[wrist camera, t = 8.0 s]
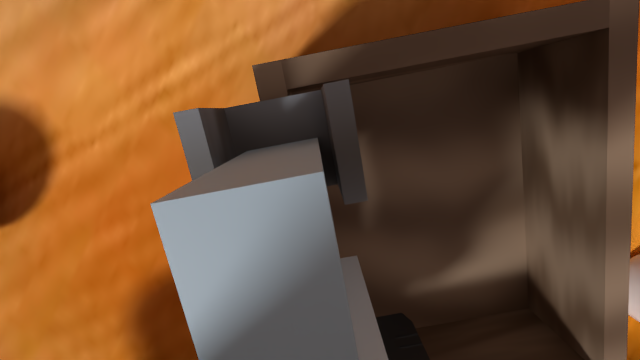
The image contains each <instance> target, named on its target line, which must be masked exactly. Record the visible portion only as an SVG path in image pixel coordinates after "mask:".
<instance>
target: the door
mask: <svg viewBox="0 0 640 360" xmlns="http://www.w3.org/2000/svg"><path fill="white" fill-rule="evenodd" d="M151 207H152V211H153V214H154V217H155V220H156V223H157V227H158V230H159V233H160V236H161V240H162V243H163V246H164V249H165V252H166V256H167V259H168V262H169V265H170V269H171V272H172V275H173V278H174V282H175V285H176V288H177V291H178V294H179V298H180V301H181V304H182V307H183V311H184V314H185V317H186V320H187V323H188V327H189V330H190V333H191V336H192V340H193V343H194V346H195V349H196V353H197V356H198V359H199V360H359V358H358V352H357V347H356V342H355V336H354V331H353V325H352V320H351V314H350V309H349V304H348V298H347V293H346V287H345V282H344V276H343V271H342V265H341V260H340V255H339V249H338V244H337V239H336V233H335V228H334V223H333V217H332V212H331V207H330V201H329V196H328V191H327V185H326V180H325V175H324V169H323V164H322V159H321V153H320V148H319V143H318V138H312V139H307V140H302V141H297V142H291V143H286V144H281V145H276V146H270V147H265V148H260V149H254V150H249V151H246V152H244V153H242V154H241V155H239V156H237V157H235V158H233V159H231V160H230V161H228V162H226V163H224V164H222V165H221V166H219V167H217V168H215V169H213V170H211V171H210V172H208V173H206V174H204V175H202V176H200V177H199V178H197V179H195V180H193V181H191V182H189V183H188V184H186V185H184V186H182V187H180V188H179V189H177V190H175V191H173V192H171V193H169V194H168V195H166V196H164V197H162V198H160V199H158V200H157V201H155V202H153V203H151Z"/></svg>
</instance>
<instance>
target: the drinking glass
mask: <svg viewBox="0 0 640 360" xmlns="http://www.w3.org/2000/svg"><path fill="white" fill-rule="evenodd" d="M628 315H629V316H631V317H632V318H634V319H635V320H637V321H638V322H640V254H638V255H636V256H634V257H632V258H630V275H629V304H628Z"/></svg>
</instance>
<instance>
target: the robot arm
mask: <svg viewBox="0 0 640 360" xmlns="http://www.w3.org/2000/svg"><path fill="white" fill-rule="evenodd" d="M340 260H341V265H342V271H343V276H344V282H345V287H346V293H347V298H348V304H349V309H350V314H351V320H352V325H353V331H354V336H355V342H356V347H357V352H358V358H359V360H430V358H429V356H428V354H427V352H426V350H425V348H424V346H423V344H422V341H421V339H420V337H419V335H418V333H417V331H416V329H415V326H414V324H413V322H412V321H411V320H410V319H409V318H407V317H406V316H405V315H404V314H403V313H397V314H392V315H386V316H380V317H375V314H374V310H373V307H372V304H371V300H370V297H369V294H368V291H367V287H366V284H365V281H364V277H363V274H362V271H361V267H360V264H359V261H358V257H357V255H356V256H351V257H345V258H340Z"/></svg>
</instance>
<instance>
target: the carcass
mask: <svg viewBox="0 0 640 360" xmlns="http://www.w3.org/2000/svg"><path fill="white" fill-rule="evenodd" d="M638 16H639V0H586V1H581V2H576V3H571V4H566V5H561V6H556V7H550V8H545V9H540V10H535V11H530V12H525V13H520V14H514V15H509V16H504V17H499V18H494V19H489V20H484V21H479V22H473V23H468V24H463V25H458V26H453V27H448V28H443V29H437V30H432V31H427V32H422V33H417V34H412V35H407V36H401V37H396V38H391V39H386V40H381V41H376V42H371V43H365V44H360V45H355V46H350V47H345V48H340V49H335V50H329V51H324V52H319V53H314V54H309V55H304V56H299V57H294V58H288V59H283V60H278V61H273V62H268V63H263V64H258V65H252V67H253V71H254V76H255V80H256V85H257V89H258V94H259V98H260V102H255V103H250V104H244V105H239V106H234V107H229V108H196V109H191V110H185V111H180V112H175V113H173V114H174V118H175V121H176V125H177V128H178V132H179V135H180V139H181V142H182V146H183V149H184V153H185V156H186V160H187V163H188V167H189V170H190V174H191V177H192V181H193V180H195V179H197V178H199V177H200V176H202V175H204V174H206V173H208V172H210V171H211V170H213V169H215V168H217V167H219V166H221V165H222V164H224V163H226V162H228V161H230V160H231V159H233V158H235V157H237V156H239V155H241V154H242V153H244V152H246V151H249V150H254V149H260V148H265V147H270V146H276V145H281V144H286V143H291V142H297V141H302V140H307V139H312V138H318V143H319V148H320V153H321V159H322V164H323V169H324V175H325V180H326V185H327V191H328V196H329V201H330V207H331V212H332V217H333V223H334V228H335V233H336V239H337V244H338V249H339V255H340V258H345V257H351V256H356V255H357V257H358V261H359V264H360V267H361V271H362V274H363V277H364V281H365V284H366V287H367V291H368V294H369V297H370V300H371V304H372V307H373V310H374V314H375V317H380V316H386V315H392V314H397V313H403V314H404V315H405V316H406V317H407V318H409V319H410V320H411V321H412V322H413V324H414V326H415V329H416V331H417V333H418V335H419V337H420V339H421V341H422V344H423V346H424V348H425V350H426V352H427V354H428V356H429V358H430V360H627V332H628V304H629V275H630V246H631V217H632V189H633V160H634V131H635V103H636V74H637V45H638Z"/></svg>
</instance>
